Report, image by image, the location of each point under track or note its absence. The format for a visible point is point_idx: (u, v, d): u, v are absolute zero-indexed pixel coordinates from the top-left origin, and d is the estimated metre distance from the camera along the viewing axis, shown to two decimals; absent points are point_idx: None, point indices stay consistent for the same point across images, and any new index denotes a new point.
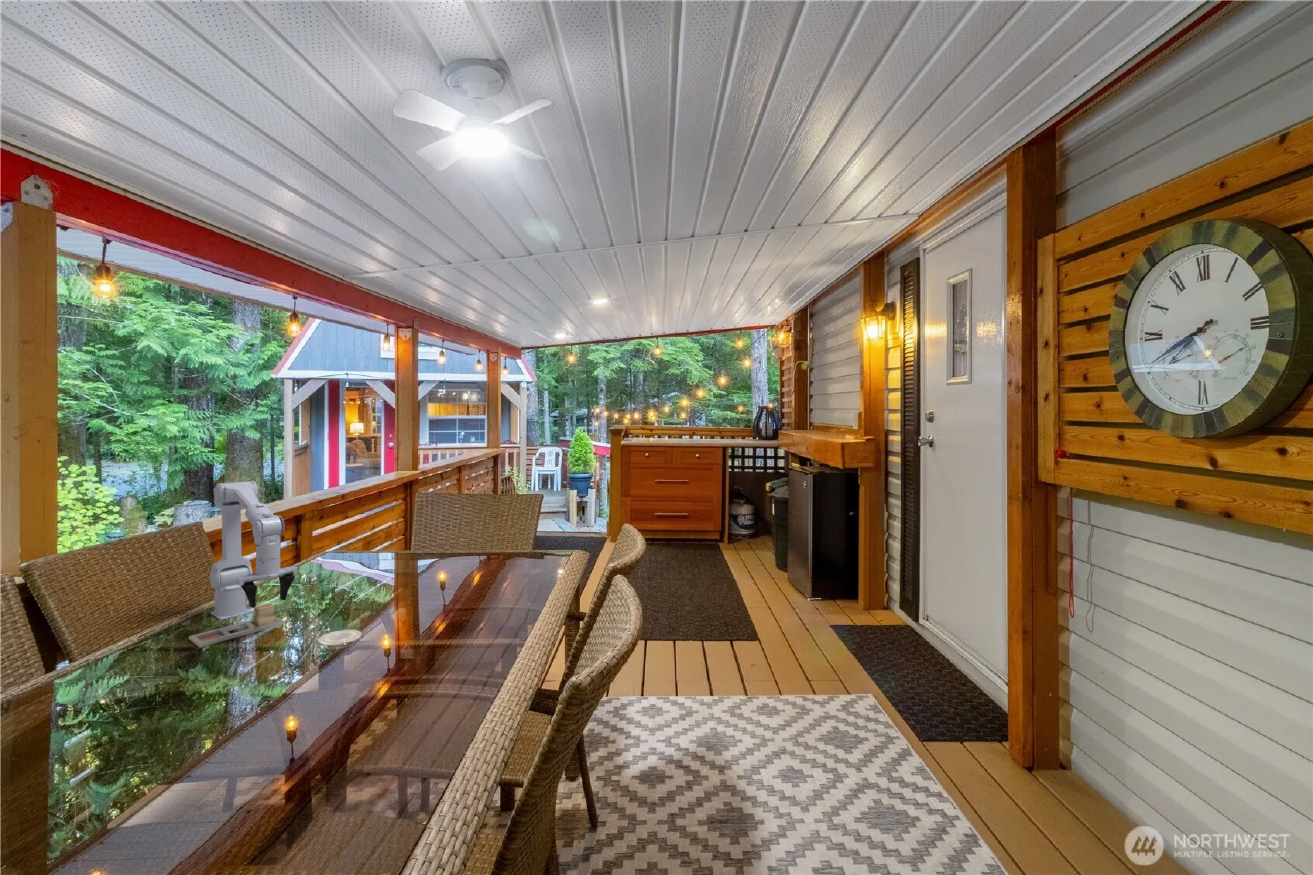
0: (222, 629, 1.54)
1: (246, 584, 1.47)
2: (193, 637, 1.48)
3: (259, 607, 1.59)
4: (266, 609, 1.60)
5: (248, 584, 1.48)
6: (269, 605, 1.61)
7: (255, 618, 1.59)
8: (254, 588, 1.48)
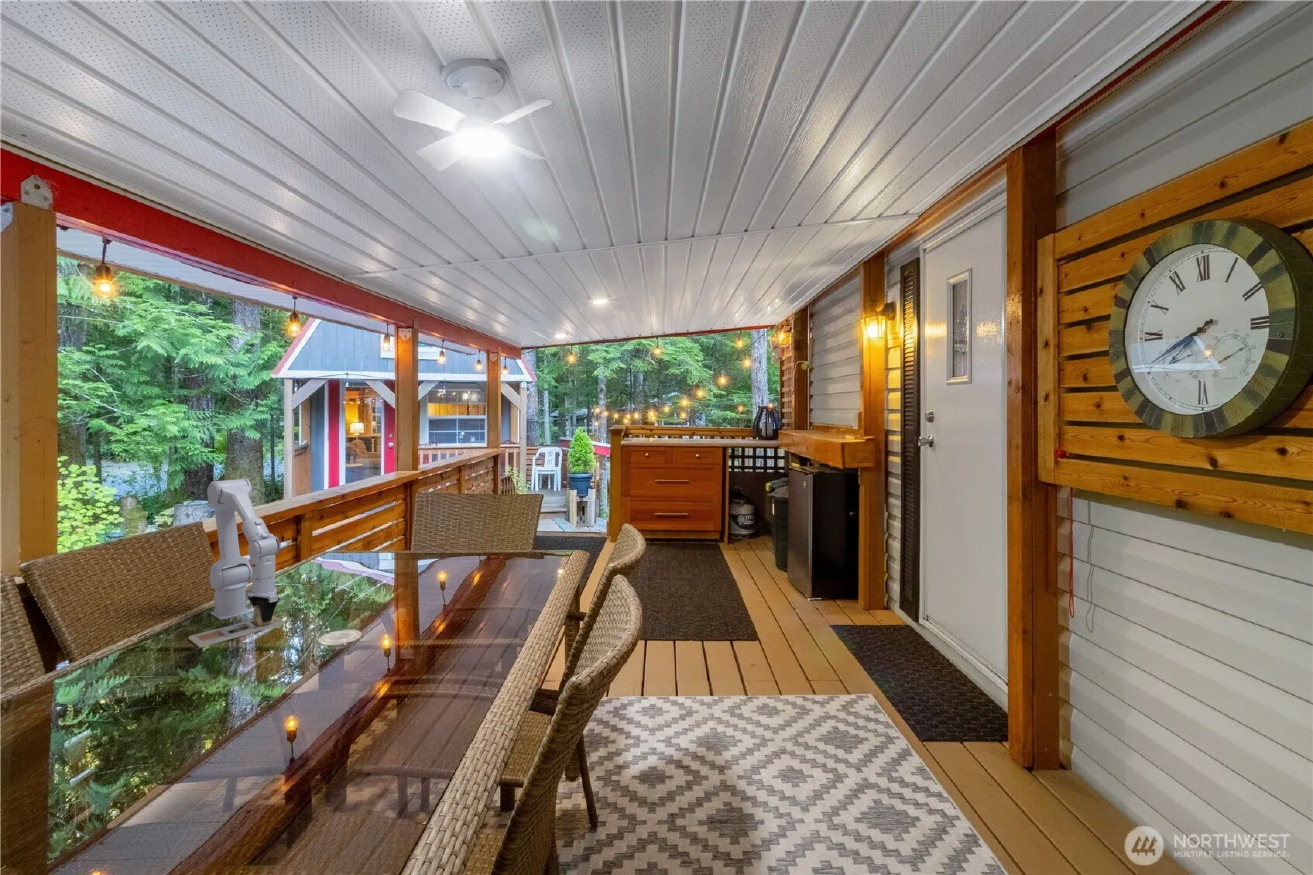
0: (222, 629, 1.54)
1: None
2: (193, 637, 1.48)
3: None
4: None
5: (255, 595, 1.62)
6: None
7: (255, 618, 1.59)
8: (250, 600, 1.60)
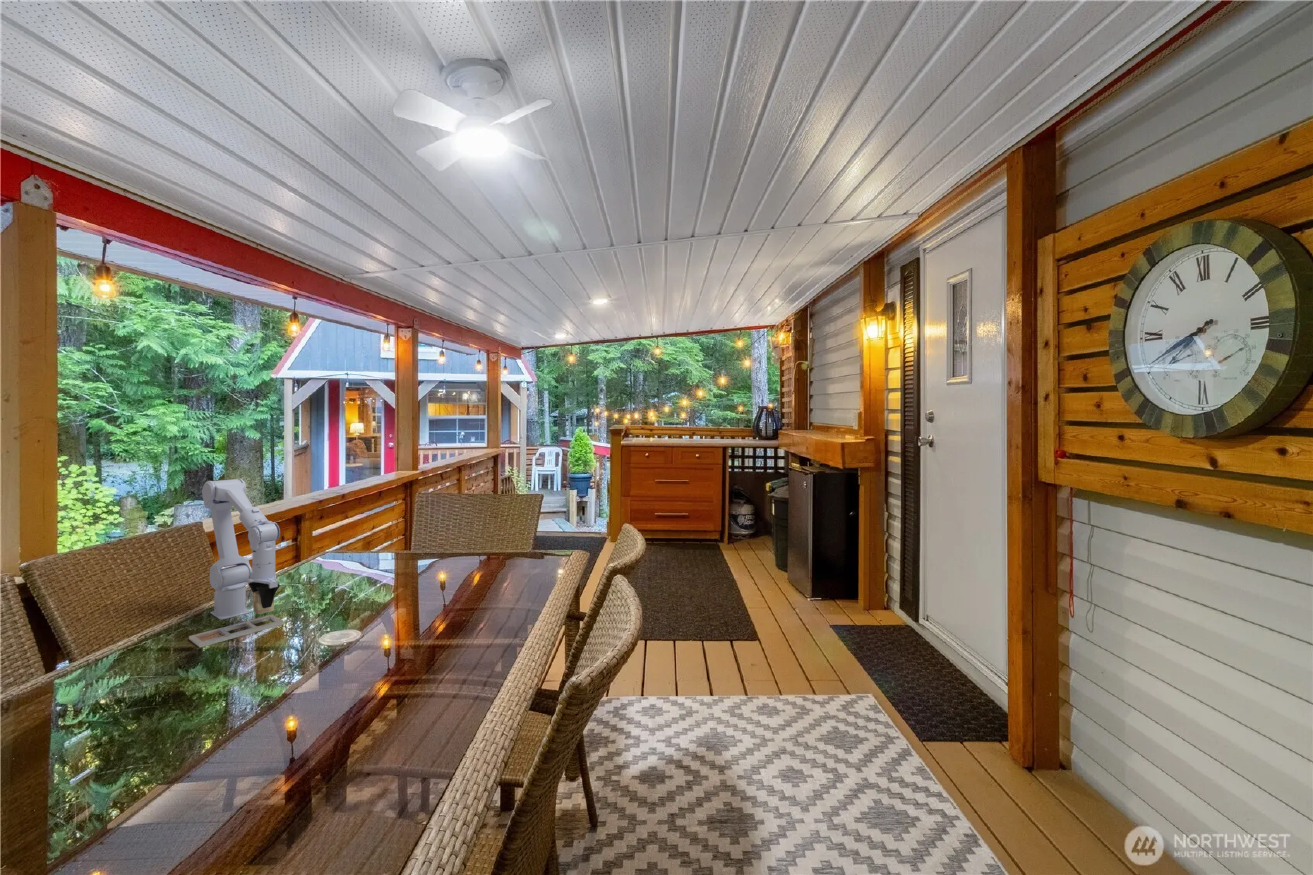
0: (222, 629, 1.54)
1: None
2: (193, 637, 1.48)
3: None
4: None
5: (255, 581, 1.61)
6: None
7: (255, 604, 1.59)
8: (250, 586, 1.60)
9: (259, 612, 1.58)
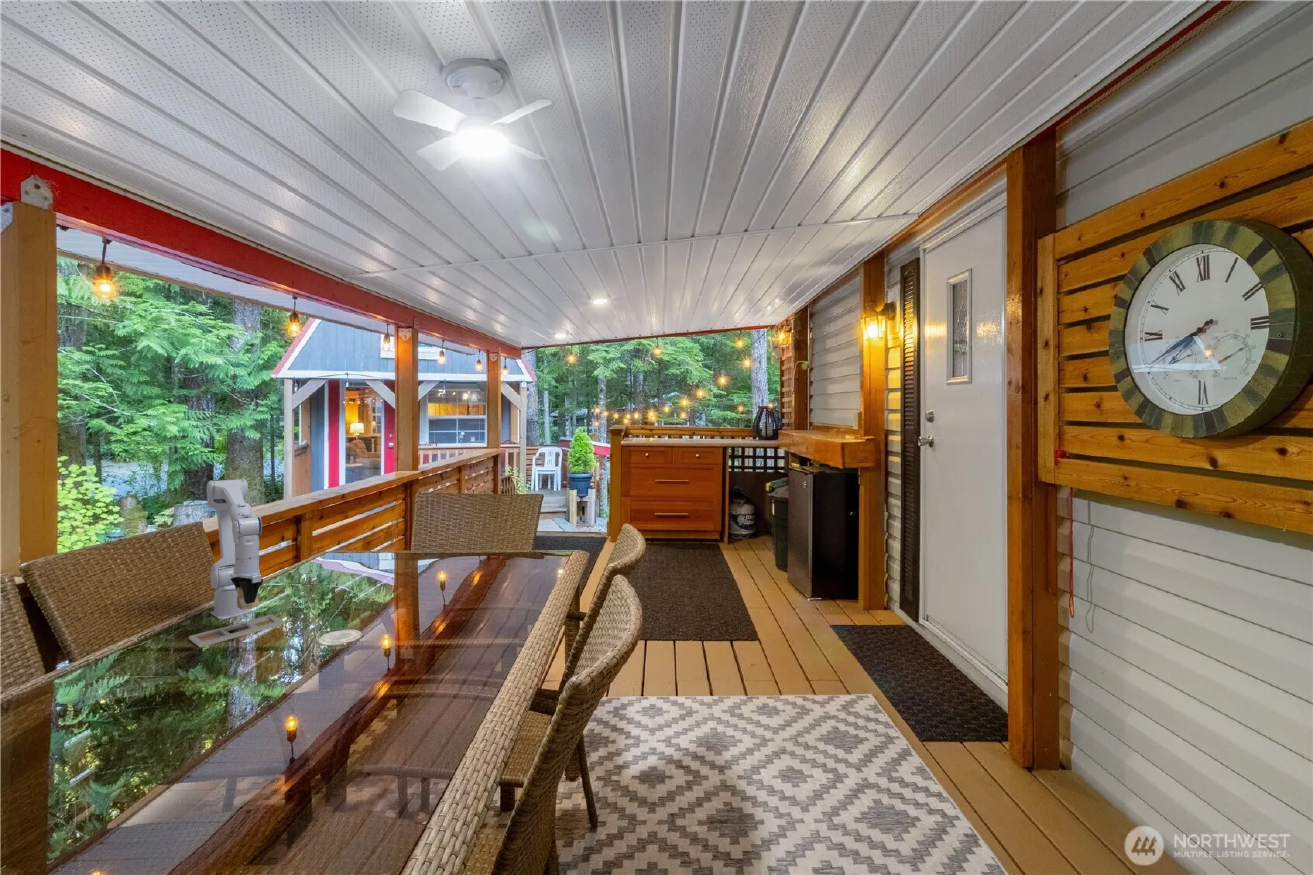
0: (222, 629, 1.54)
1: None
2: (193, 637, 1.48)
3: None
4: None
5: (238, 576, 1.58)
6: None
7: (238, 599, 1.56)
8: (233, 581, 1.56)
9: (243, 608, 1.55)
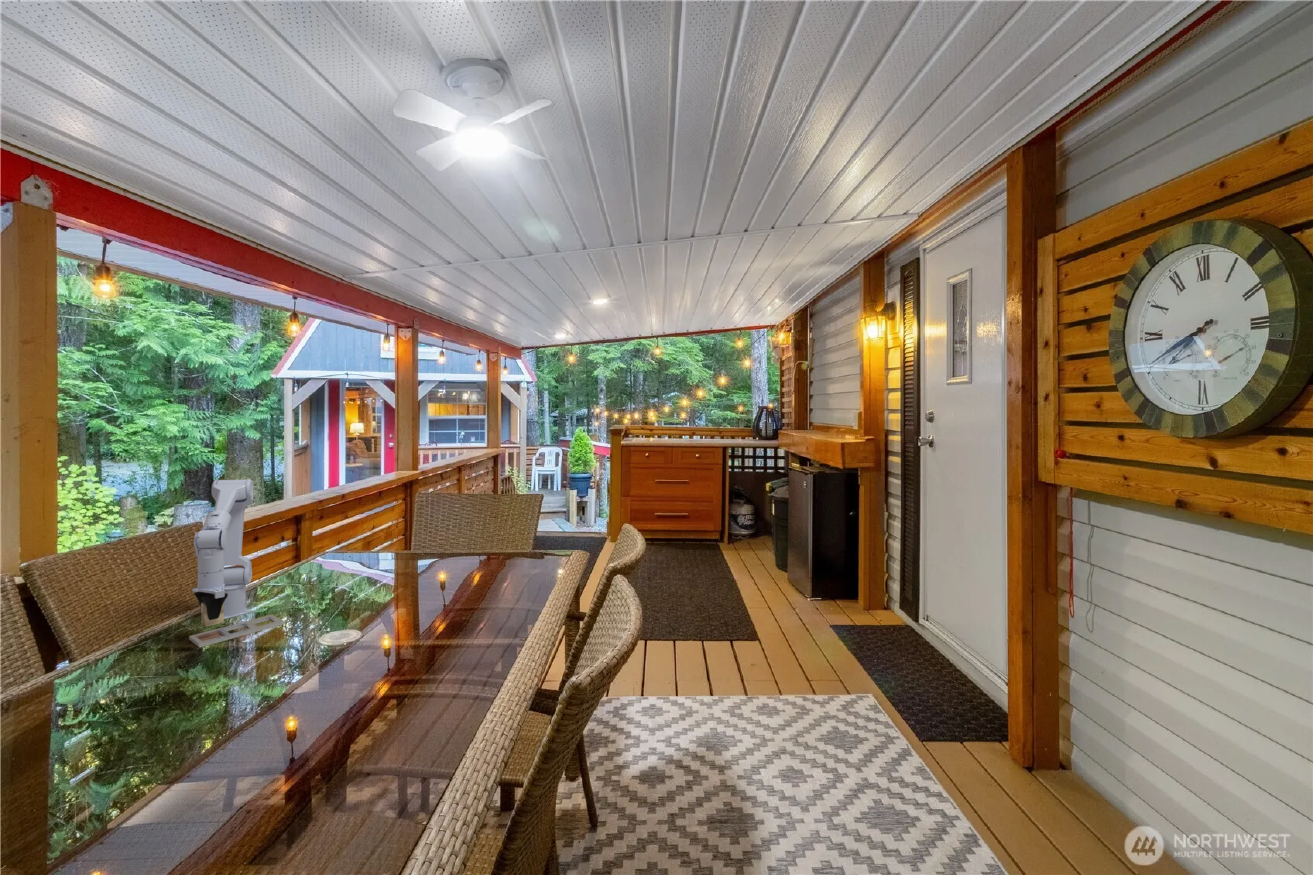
0: (222, 629, 1.54)
1: None
2: (193, 637, 1.48)
3: None
4: None
5: None
6: None
7: (203, 615, 1.49)
8: (196, 596, 1.49)
9: (207, 624, 1.48)
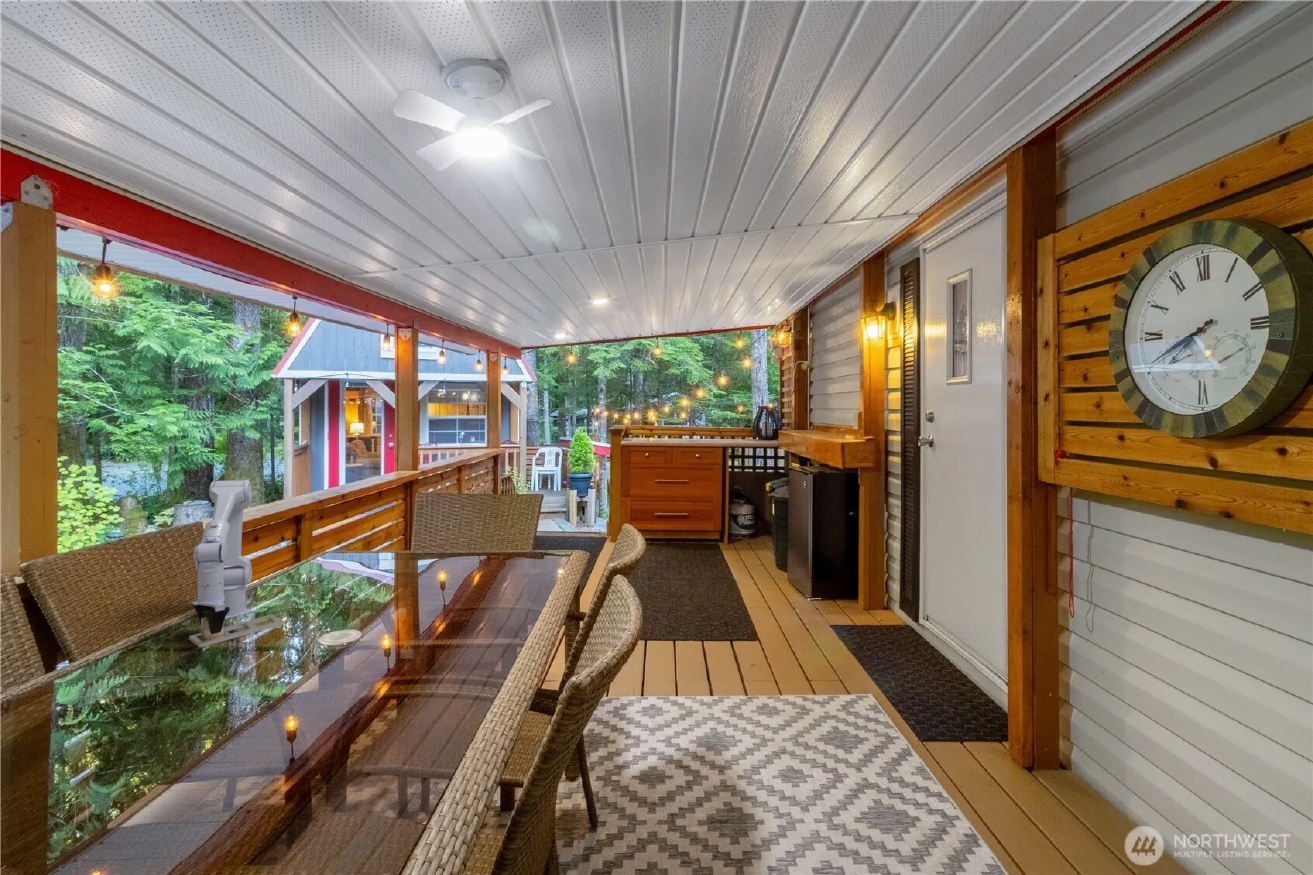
0: None
1: None
2: (193, 637, 1.48)
3: None
4: None
5: None
6: None
7: (203, 631, 1.49)
8: (194, 608, 1.50)
9: None
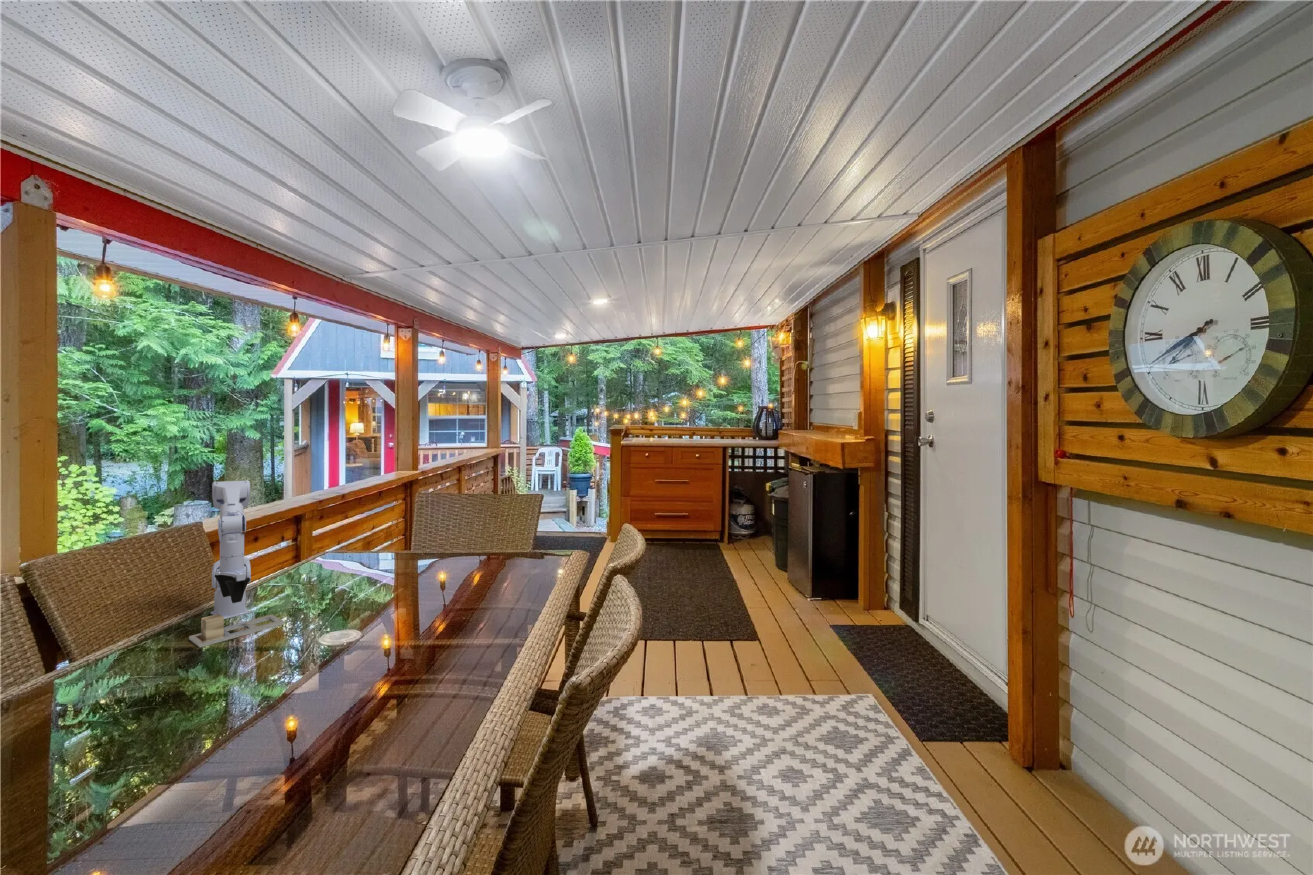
0: None
1: None
2: (193, 637, 1.48)
3: (207, 619, 1.49)
4: (214, 621, 1.49)
5: None
6: (218, 617, 1.50)
7: (203, 631, 1.49)
8: (216, 578, 1.56)
9: None
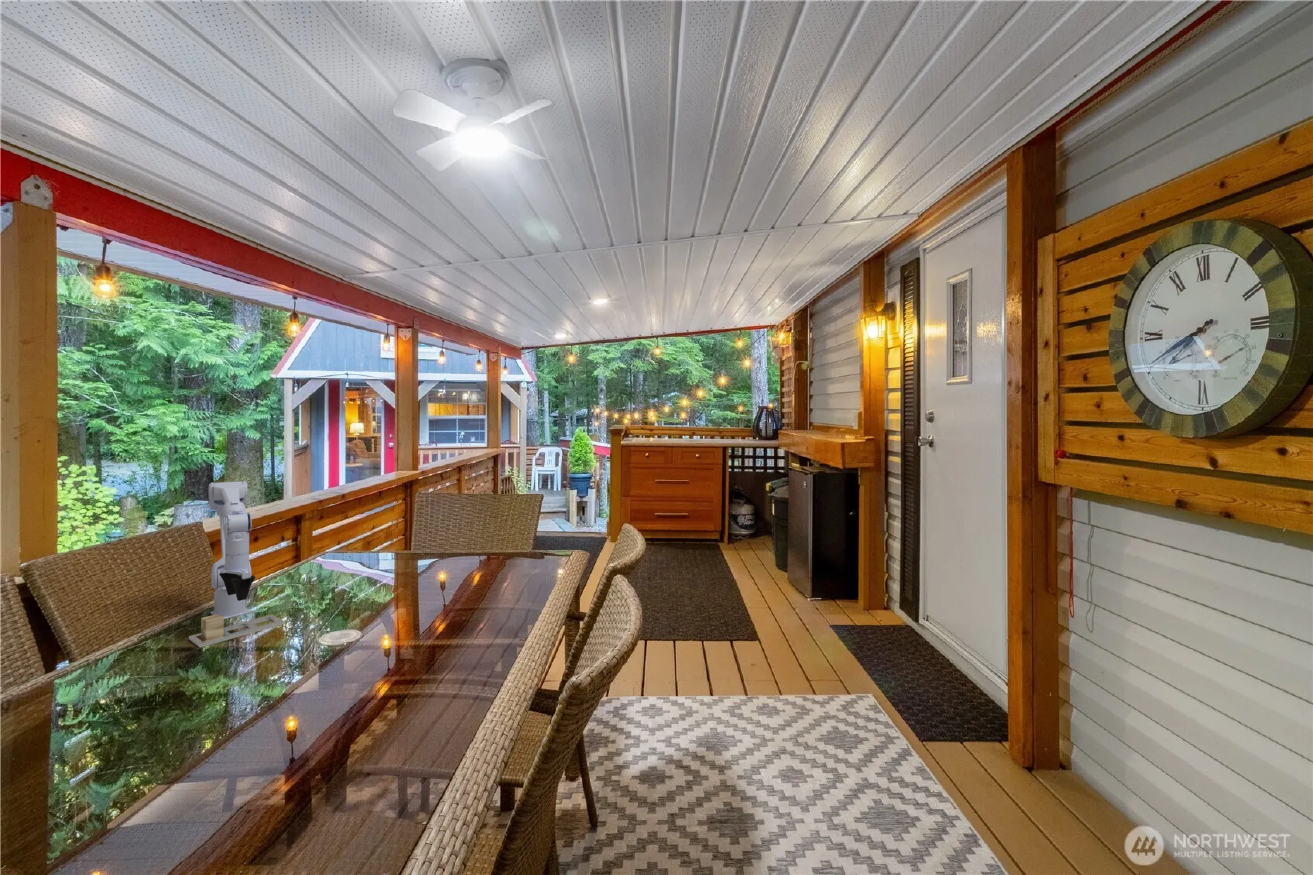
0: None
1: None
2: (193, 637, 1.48)
3: (207, 619, 1.49)
4: (214, 621, 1.49)
5: None
6: (218, 617, 1.50)
7: (203, 631, 1.49)
8: (221, 576, 1.58)
9: None
